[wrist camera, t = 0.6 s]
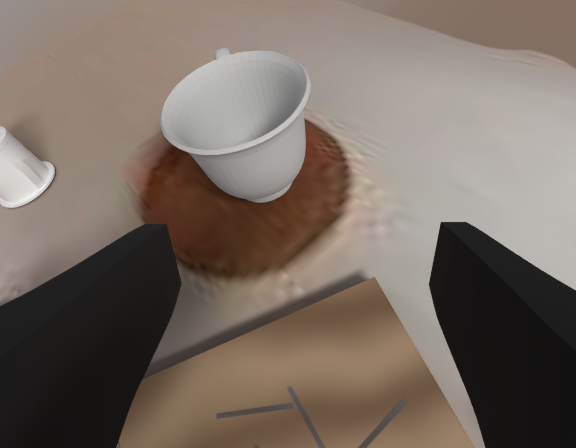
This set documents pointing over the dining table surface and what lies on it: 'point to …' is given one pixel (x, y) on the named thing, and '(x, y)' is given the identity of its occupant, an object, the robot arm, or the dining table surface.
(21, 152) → the downlight
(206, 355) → the board
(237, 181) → the teacup
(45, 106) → the dining table surface
